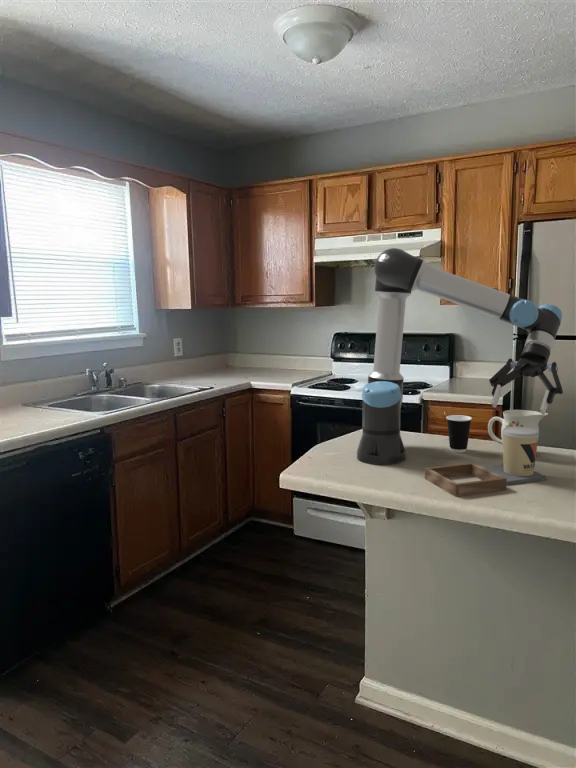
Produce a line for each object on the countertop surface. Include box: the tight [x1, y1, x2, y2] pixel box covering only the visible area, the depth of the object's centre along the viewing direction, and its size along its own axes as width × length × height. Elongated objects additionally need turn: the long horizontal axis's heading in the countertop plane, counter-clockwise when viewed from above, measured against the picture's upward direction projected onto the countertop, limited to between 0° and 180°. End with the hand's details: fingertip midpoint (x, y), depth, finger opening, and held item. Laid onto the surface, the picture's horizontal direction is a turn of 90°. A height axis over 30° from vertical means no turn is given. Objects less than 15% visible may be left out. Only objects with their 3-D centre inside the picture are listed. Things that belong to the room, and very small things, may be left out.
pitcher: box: [487, 409, 549, 446], centre depth 176 cm, size 11×18×14 cm, turn 50°
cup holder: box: [424, 462, 507, 498], centre depth 149 cm, size 15×15×3 cm
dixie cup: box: [445, 414, 473, 454], centre depth 180 cm, size 8×8×11 cm
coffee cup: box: [502, 426, 540, 476], centre depth 154 cm, size 9×9×12 cm
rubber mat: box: [482, 463, 547, 486], centre depth 155 cm, size 13×13×1 cm
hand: (517, 408), depth 158 cm, fingers open, 13 cm apart
